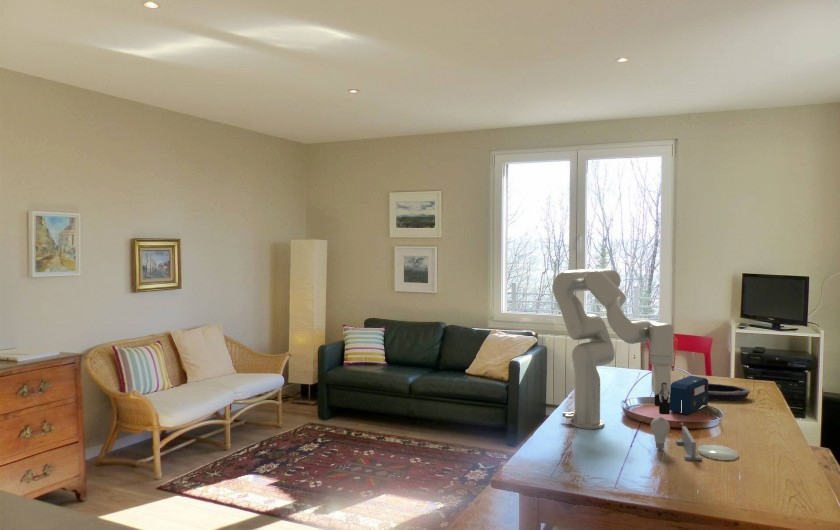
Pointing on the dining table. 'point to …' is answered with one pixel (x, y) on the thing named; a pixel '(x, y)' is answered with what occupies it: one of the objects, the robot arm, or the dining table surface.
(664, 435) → the lightbulb
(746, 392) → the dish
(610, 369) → the dining table surface
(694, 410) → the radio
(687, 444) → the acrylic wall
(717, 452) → the white round dome
